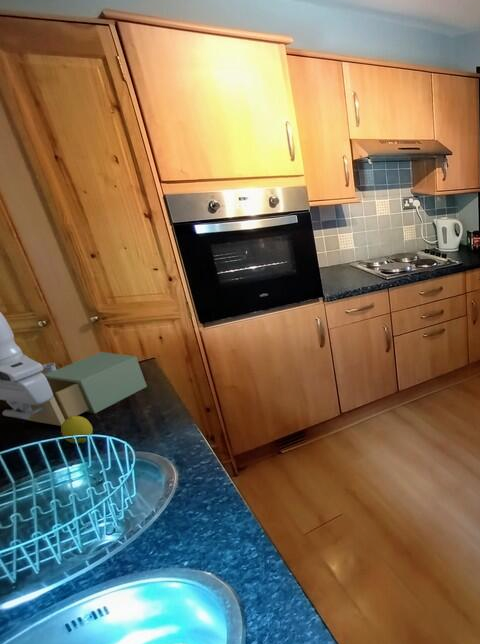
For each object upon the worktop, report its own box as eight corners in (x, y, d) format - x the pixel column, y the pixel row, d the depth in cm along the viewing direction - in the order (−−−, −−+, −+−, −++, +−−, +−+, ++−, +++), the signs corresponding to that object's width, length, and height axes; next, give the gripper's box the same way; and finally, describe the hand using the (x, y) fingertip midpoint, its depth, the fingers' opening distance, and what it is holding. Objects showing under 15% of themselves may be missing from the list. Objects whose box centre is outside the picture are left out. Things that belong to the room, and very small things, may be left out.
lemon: (62, 448, 113) (49, 421, 110) (86, 435, 118) (74, 409, 115) (79, 451, 112) (66, 424, 109) (102, 438, 117) (91, 412, 114)
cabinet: (94, 413, 127) (80, 380, 123) (58, 407, 130) (42, 375, 126) (147, 386, 141) (136, 356, 137) (112, 381, 144) (100, 351, 140)
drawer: (40, 437, 116) (25, 408, 112) (4, 430, 118) (-12, 402, 115) (116, 398, 133) (105, 371, 130) (83, 393, 136) (72, 367, 132)
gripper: (-46, 367, 111) (-20, 415, 117) (16, 376, 107) (40, 425, 112) (-14, 356, 117) (10, 402, 122) (46, 364, 113) (68, 411, 118)
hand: (25, 413), depth 117 cm, fingers closed
